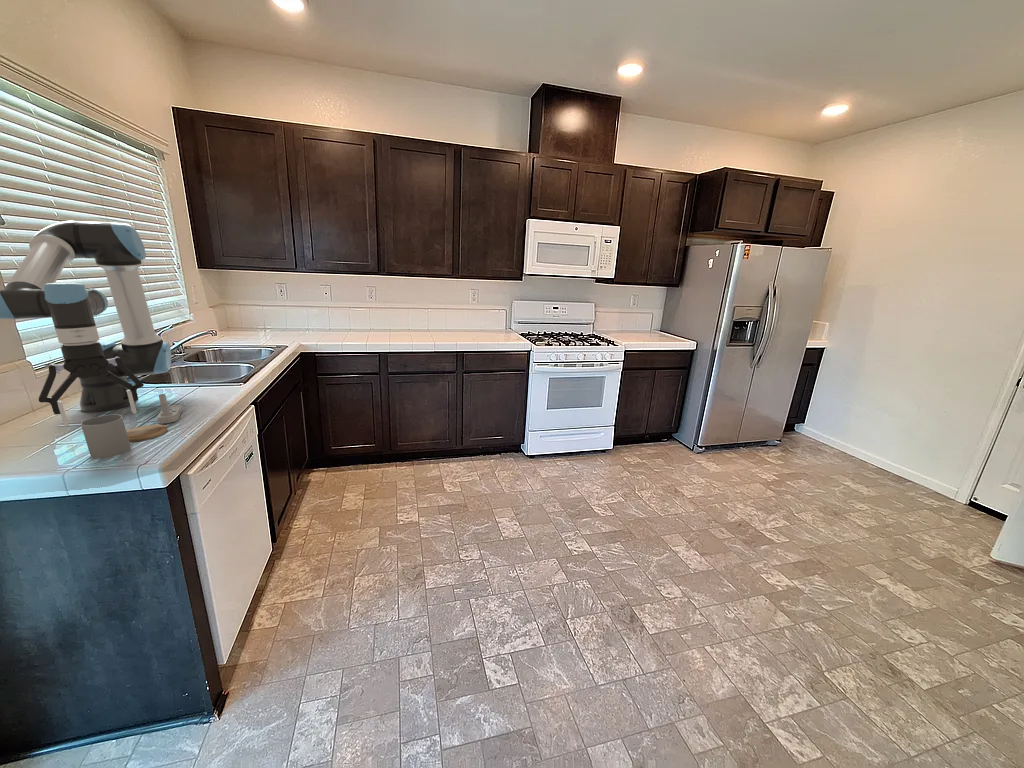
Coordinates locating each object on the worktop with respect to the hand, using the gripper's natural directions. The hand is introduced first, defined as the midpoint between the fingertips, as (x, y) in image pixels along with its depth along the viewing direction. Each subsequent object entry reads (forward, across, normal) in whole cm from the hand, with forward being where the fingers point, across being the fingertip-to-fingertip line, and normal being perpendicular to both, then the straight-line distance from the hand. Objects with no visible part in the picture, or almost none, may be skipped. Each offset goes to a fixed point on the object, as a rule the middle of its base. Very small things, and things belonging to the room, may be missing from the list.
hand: (101, 418), depth 114 cm
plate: (+10, +8, +10) cm, 17 cm away
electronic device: (+11, +17, +22) cm, 30 cm away
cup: (+11, 0, +1) cm, 11 cm away
